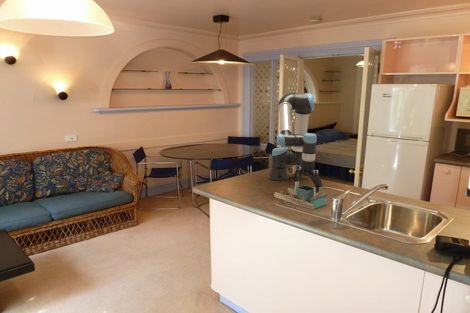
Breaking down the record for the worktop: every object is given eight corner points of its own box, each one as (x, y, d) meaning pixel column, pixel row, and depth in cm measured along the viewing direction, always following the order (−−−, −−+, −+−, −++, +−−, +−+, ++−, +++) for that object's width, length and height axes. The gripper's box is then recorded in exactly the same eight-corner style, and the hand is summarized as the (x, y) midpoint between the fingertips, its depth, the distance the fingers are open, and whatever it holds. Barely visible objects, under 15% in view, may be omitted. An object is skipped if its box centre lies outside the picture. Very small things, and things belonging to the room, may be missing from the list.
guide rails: (289, 192, 218) (289, 185, 217) (326, 204, 198) (327, 196, 197) (274, 197, 208) (274, 189, 207) (312, 209, 188) (312, 201, 187)
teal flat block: (323, 203, 200) (324, 193, 198) (326, 204, 198) (327, 194, 197) (309, 208, 190) (309, 198, 188) (312, 209, 188) (312, 199, 187)
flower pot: (315, 202, 201) (316, 188, 199) (307, 205, 194) (308, 191, 193) (302, 198, 207) (303, 184, 205) (294, 202, 200) (295, 187, 199)
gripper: (287, 157, 202) (285, 190, 206) (323, 165, 184) (320, 201, 188) (294, 155, 207) (292, 188, 211) (330, 163, 189) (327, 198, 193)
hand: (305, 194), depth 200 cm, fingers open, 13 cm apart
